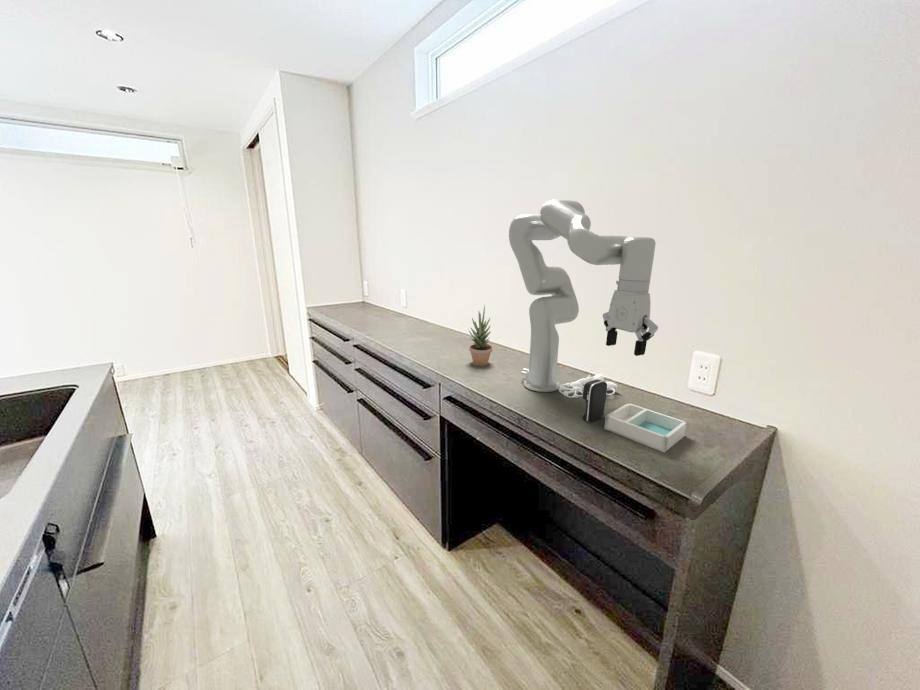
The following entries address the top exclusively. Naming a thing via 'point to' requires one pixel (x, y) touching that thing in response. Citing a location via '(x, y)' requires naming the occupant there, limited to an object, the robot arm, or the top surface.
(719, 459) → the top surface
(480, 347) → the potted plant
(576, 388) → the tangled rod sculpture
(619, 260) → the robot arm
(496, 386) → the top surface
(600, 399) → the battery charger
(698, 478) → the top surface
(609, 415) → the divided compartment box
